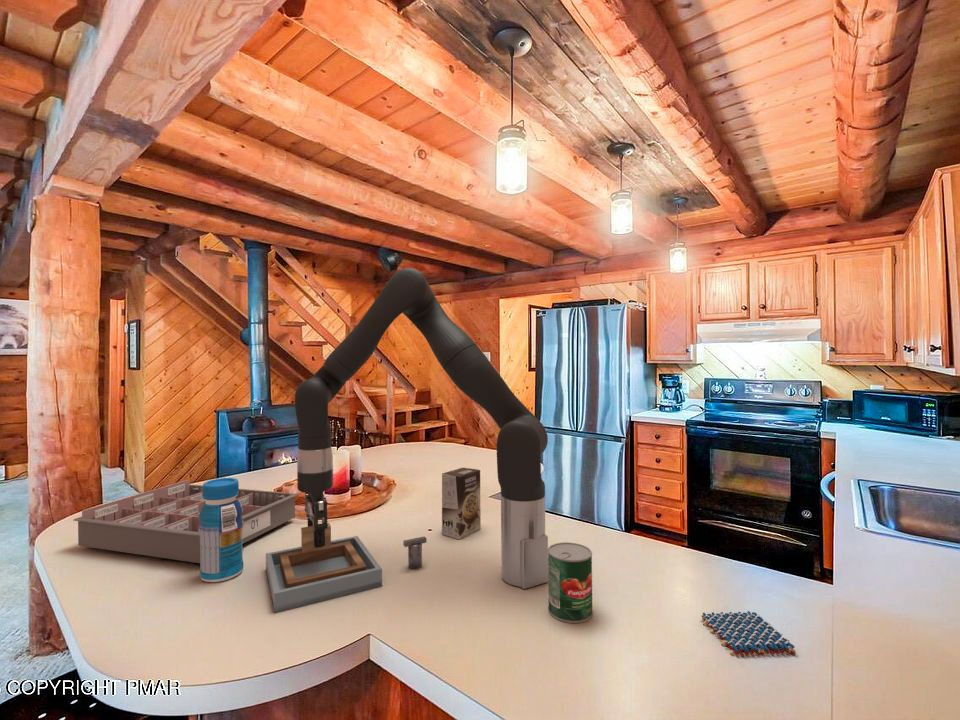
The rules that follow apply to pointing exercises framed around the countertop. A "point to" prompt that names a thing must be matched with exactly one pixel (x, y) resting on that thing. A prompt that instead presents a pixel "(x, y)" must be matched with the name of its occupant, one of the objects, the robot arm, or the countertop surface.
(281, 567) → the wooden frame with tab
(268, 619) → the countertop surface
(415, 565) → the grey metal t-shaped piece
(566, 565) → the canned tomato
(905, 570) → the countertop surface
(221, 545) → the beverage bottle
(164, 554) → the organizer tray
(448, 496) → the coffee box
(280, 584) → the tray
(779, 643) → the woven mat
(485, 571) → the countertop surface
